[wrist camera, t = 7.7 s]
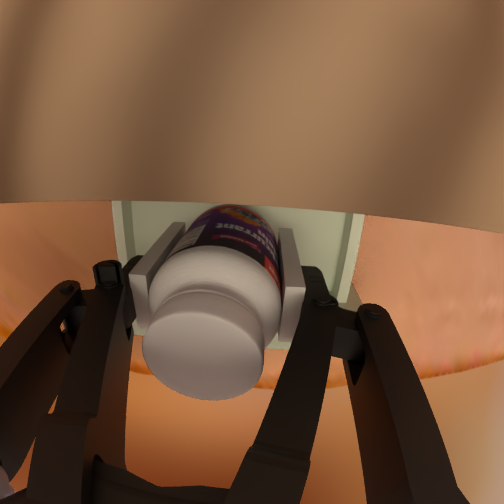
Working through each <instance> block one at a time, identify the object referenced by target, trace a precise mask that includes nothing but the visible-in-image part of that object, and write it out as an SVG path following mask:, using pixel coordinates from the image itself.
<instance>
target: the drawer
mask: <svg viewBox="0 0 504 504" xmlns="http://www.w3.org/2000/svg"><path fill="white" fill-rule="evenodd" d="M111 202H112V213H113V223H114V232H115V241H116V248H117V256H118V261H119V262H120V263H121V264H122V268H123V266H124V265H126V263H127V262H128V261H129V260H130V259H131V258H133V257H135V256H137V255H145V254H146V252H147V251H148V250H149V249H150V248H151V247H152V245H153V244H154V243H155V242H156V241H157V240H158V238H159V237H160V236H161V235H162V234H163V233H164V232H165V231H166V229H167V228H168V227H169V226H170V225H171V224H172V223H173V222H186V231H187V230H188V228H189V227H190V226H191V224H192V223H193V222H194V221H195V220H196V219H197V217H199V216H200V215H201V214H202V213H203V212H205V211H206V210H208V209H210V208H212V207H215V206H218V205H224V204H220V203H197V202H166V201H111ZM236 205H239V204H236ZM242 206H245V207H248V208H250V209H252V210H254V211H256V212H257V213H259V214H260V215H261V216H262V217H263V218H264V219H265V220H266V221H267V222H268V223H269V225H270V226H271V228H272V230H273V232H274V234H275V237H276V241H277V244H278V233H279V228H289V229H292V230H293V234H294V239H295V243H296V247H297V251H298V255H299V260H300V264H301V266H316V267H317V268H318V269H320V270H321V271H322V273H323V276H324V279H325V283H326V285H327V288H328V291H329V294H330V295H331V296H333V297H335V298H336V300H337V301H338V304H339V305H338V306H339V307H341V308H343V309H347V310H351V311H355V312H357V310H358V308H359V306H360V305H362V302H361V300H360V297H359V295H358V293H357V291H356V289H355V287H354V285H353V283H352V277H353V272H354V268H355V263H356V258H357V254H358V249H359V244H360V239H361V233H362V228H363V222H364V217H365V215H363V214H354V213H344V212H333V211H322V210H311V209H298V208H285V207H271V206H256V205H242ZM132 325H133V329H134V335H140V336H144V334H145V332H146V330H147V329H144V328H138V325H137V320H136V318H135V320H134V322H133V323H132ZM291 343H292V342H278V331H277V333H276V335H275V337H274V338H273V340H272V341H271V343H270V344H269V345H268V346H267V347H266V348H265V349H288V350H289V349H290V346H291Z"/></svg>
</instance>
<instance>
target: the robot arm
mask: <svg viewBox="0 0 504 504" xmlns="http://www.w3.org/2000/svg"><path fill="white" fill-rule="evenodd" d="M185 232H186V222H173V223H172V224H171V225H170V226H169V227H168V228H167V229H166V231H165V232H164V233H163V234H162V235H161V236H160V237H159V238H158V240H157V241H156V242H155V243H154V244H153V245H152V247H151V248H150V249H149V250H148V251H147V252H146V254H145V255H137V256H135V257H133V258H131V259H130V260H129V261H128V262H127V263H126V265H124V266H123V268H122V264H121V263H120V262H119V261H116V260H106V261H102V262H99V263H97V264H95V265H94V266H93V273H94V278H95V282H96V286H95V288H94V289H91V290H81V287H80V283H78V282H77V281H74V280H67V281H63V282H61V283H59V284H58V285H56V286H55V287H54V288H53V289H52V290H51V291H50V292H49V293H48V294H47V295H46V296H45V297H44V298H43V300H42V301H41V302H40V303H39V304H38V305H37V306H36V307H35V308H34V309H33V310H32V311H31V312H30V313H29V315H28V316H27V317H26V318H25V319H24V320H23V321H22V322H21V323H20V325H19V326H18V327H17V328H16V329H15V330H14V331H13V333H12V334H11V335H10V336H9V337H8V338H7V340H6V341H5V342H4V343H3V344H2V346H1V347H0V504H300V500H301V497H302V494H303V490H304V487H305V483H306V480H307V476H308V472H309V468H310V455H311V451H312V447H313V443H314V439H315V434H316V430H317V426H318V422H319V416H320V412H321V408H322V403H323V398H324V393H325V388H326V383H327V377H328V372H329V366H330V360H331V356H333V357H338V358H342V359H343V365H344V370H345V374H346V379H347V384H348V389H349V394H350V399H351V404H352V409H353V415H354V420H355V426H356V431H357V438H358V444H359V450H360V456H361V462H362V469H363V476H364V484H365V491H366V500H367V504H470V503H469V502H468V500H467V499H466V498H465V496H464V495H463V494H462V492H461V491H460V490H459V488H458V487H457V484H456V480H455V477H454V474H453V470H452V467H451V463H450V460H449V457H448V454H447V451H446V448H445V445H444V442H443V439H442V436H441V434H440V431H439V428H438V425H437V423H436V420H435V417H434V415H433V412H432V409H431V407H430V404H429V402H428V399H427V397H426V394H425V392H424V389H423V387H422V385H421V382H420V380H419V378H418V375H417V373H416V371H415V368H414V366H413V364H412V361H411V359H410V357H409V355H408V353H407V350H406V348H405V346H404V344H403V342H402V340H401V338H400V336H399V333H398V331H397V329H396V327H395V325H394V323H393V321H392V319H391V317H390V315H389V313H388V312H387V311H386V309H384V308H383V307H381V306H379V305H377V304H371V303H367V304H362V305H360V306H359V308H358V310H357V312H355V311H351V310H347V309H343V308H341V307H339V306H338V305H339V304H338V301H337V300H336V298H335V297H333V296H331V295H330V294H329V291H328V288H327V285H326V283H325V279H324V276H323V273H322V271H321V270H320V269H318V268H317V267H316V266H301V264H300V260H299V255H298V251H297V247H296V243H295V239H294V234H293V230H292V229H289V228H279V233H278V244H277V246H278V259H279V273H280V287H281V299H282V316H281V322H280V325H279V329H278V342H292V343H291V346H290V349H289V352H288V354H287V357H286V360H285V363H284V366H283V369H282V371H281V374H280V377H279V380H278V382H277V385H276V388H275V390H274V393H273V396H272V398H271V401H270V403H269V406H268V409H267V411H266V414H265V417H264V419H263V421H262V424H261V427H260V429H259V431H258V434H257V436H256V439H255V441H254V443H253V445H252V446H251V447H249V449H248V451H247V453H246V455H245V457H244V459H243V461H242V463H241V466H240V468H239V471H238V472H237V475H236V477H235V479H234V481H233V483H232V485H231V488H230V489H225V488H215V487H206V486H183V487H160V486H156V485H154V484H152V483H150V482H147V481H146V480H144V479H142V478H140V477H138V476H136V475H134V474H132V473H130V472H129V471H127V468H126V465H125V424H126V406H127V405H126V404H127V392H128V381H129V370H130V361H131V352H132V344H133V336H134V329H133V325H132V323H133V322H134V320H135V318H136V320H137V325H138V328H144V329H147V328H148V325H149V323H150V321H151V317H150V313H149V308H148V296H149V290H150V286H151V283H152V281H153V279H154V277H155V275H156V273H157V272H158V270H159V268H160V267H161V265H162V264H163V262H164V261H165V260H166V258H167V257H168V255H169V254H170V253H171V251H172V250H173V248H174V247H175V246H176V244H177V243H178V241H179V240H180V239H181V238H182V236H183V235H184V234H185ZM62 322H63V324H64V327H65V329H64V330H63V331H61V329H60V325H61V323H62ZM57 395H58V397H57ZM56 397H57V401H56V405H55V409H54V411H53V413H52V414H48V412H49V410H50V408H51V406H52V404H53V402H54V400H55V399H56ZM35 437H36V439H35ZM34 439H35V443H34V448H33V454H32V459H31V464H30V471H29V477H28V484H27V488H25V489H23V490H21V491H18V492H16V493H14V489H13V487H12V486H11V485H10V484H9V482H10V481H11V480H12V479H13V478H14V476H15V475H16V473H17V472H18V470H19V469H20V467H21V466H22V464H23V462H24V460H25V458H26V456H27V454H28V451H29V450H30V447H31V445H32V443H33V441H34Z"/></svg>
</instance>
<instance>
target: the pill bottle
mask: <svg viewBox="0 0 504 504" xmlns="http://www.w3.org/2000/svg"><path fill="white" fill-rule="evenodd" d="M148 308H149V313H150V317H151V321H150V323H149V325H148V328H147V330H146V332H145V334H144V337H143V341H142V351H143V357H144V359H145V362H146V364H147V366H148V368H149V369H150V370H151V372H152V373H153V374H154V375H155V376H156V377H157V378H158V379H159V380H160V381H161V382H162V383H163V384H165V385H166V386H167V387H169V388H171V389H172V390H174V391H176V392H178V393H181V394H183V395H186V396H189V397H192V398H196V399H201V400H225V399H230V398H234V397H237V396H239V395H241V394H244V393H245V392H247V391H249V390H250V389H251V388H252V387H253V386H254V385H255V384H256V383H257V382H258V380H259V378H260V376H261V374H262V371H263V365H264V349H265V348H266V347H267V346H268V345H269V344H270V343H271V341H272V340H273V338H274V337H275V335H276V333H277V331H278V329H279V325H280V322H281V316H282V299H281V287H280V273H279V259H278V246H277V241H276V237H275V234H274V232H273V230H272V228H271V226H270V225H269V223H268V222H267V221H266V220H265V219H264V218H263V217H262V216H261V215H260V214H259V213H257V212H256V211H254V210H252V209H250V208H248V207H245V206H242V205H236V204H224V205H218V206H215V207H212V208H210V209H208V210H206V211H205V212H203V213H202V214H201V215H200V216H199V217H197V219H196V220H195V221H194V222H193V223H192V224H191V226H190V227H189V228H188V230H187V231H186V232H185V234H184V235H183V236H182V238H181V239H180V240H179V241H178V243H177V244H176V246H175V247H174V248H173V250H172V251H171V253H170V254H169V255H168V257H167V258H166V260H165V261H164V262H163V264H162V265H161V267H160V268H159V270H158V272H157V273H156V275H155V277H154V279H153V281H152V283H151V286H150V290H149V296H148Z"/></svg>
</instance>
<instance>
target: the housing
mask: <svg viewBox="0 0 504 504" xmlns="http://www.w3.org/2000/svg"><path fill="white" fill-rule="evenodd" d="M46 201H166V202H197V203H220V204H239V205H256V206H271V207H285V208H298V209H311V210H322V211H333V212H344V213H354V214H363V215H373V216H382V217H390V218H399V219H407V220H415V221H422V222H430V223H437V224H444V225H451V226H457V227H464V228H470V229H477V230H483V231H489V232H495V233H500V234H504V0H0V203H19V202H46Z"/></svg>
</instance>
